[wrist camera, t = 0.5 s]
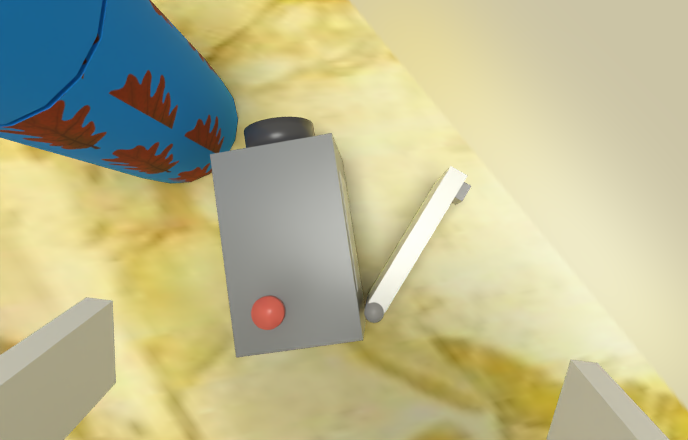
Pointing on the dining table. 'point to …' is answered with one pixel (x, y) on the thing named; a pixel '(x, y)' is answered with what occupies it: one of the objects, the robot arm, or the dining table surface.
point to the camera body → (287, 240)
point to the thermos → (111, 88)
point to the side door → (414, 241)
